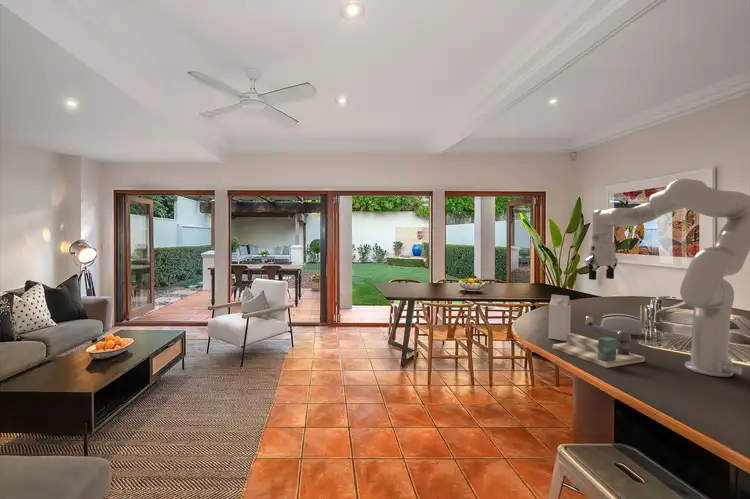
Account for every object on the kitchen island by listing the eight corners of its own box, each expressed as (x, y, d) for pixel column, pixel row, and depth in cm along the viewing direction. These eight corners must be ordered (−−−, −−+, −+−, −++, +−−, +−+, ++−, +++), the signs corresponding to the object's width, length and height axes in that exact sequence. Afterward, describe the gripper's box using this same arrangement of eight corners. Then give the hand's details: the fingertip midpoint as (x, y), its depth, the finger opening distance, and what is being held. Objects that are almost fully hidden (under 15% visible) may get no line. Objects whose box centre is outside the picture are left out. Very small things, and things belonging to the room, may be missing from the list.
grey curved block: (639, 332, 181) (642, 313, 178) (642, 338, 177) (644, 319, 174) (598, 329, 188) (600, 310, 184) (599, 334, 184) (601, 316, 180)
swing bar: (633, 340, 145) (634, 326, 144) (625, 342, 143) (625, 327, 143) (589, 329, 162) (590, 315, 162) (582, 330, 160) (582, 316, 160)
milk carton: (552, 335, 177) (553, 293, 176) (570, 338, 172) (571, 295, 171) (548, 338, 171) (549, 295, 170) (565, 341, 167) (567, 297, 166)
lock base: (644, 361, 142) (645, 336, 141) (606, 367, 135) (607, 342, 134) (587, 343, 164) (587, 322, 164) (552, 348, 157) (552, 325, 157)
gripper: (594, 239, 159) (593, 281, 160) (625, 238, 165) (624, 279, 166) (579, 238, 166) (578, 278, 167) (609, 238, 172) (608, 277, 173)
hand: (601, 279), depth 166 cm, fingers open, 9 cm apart
